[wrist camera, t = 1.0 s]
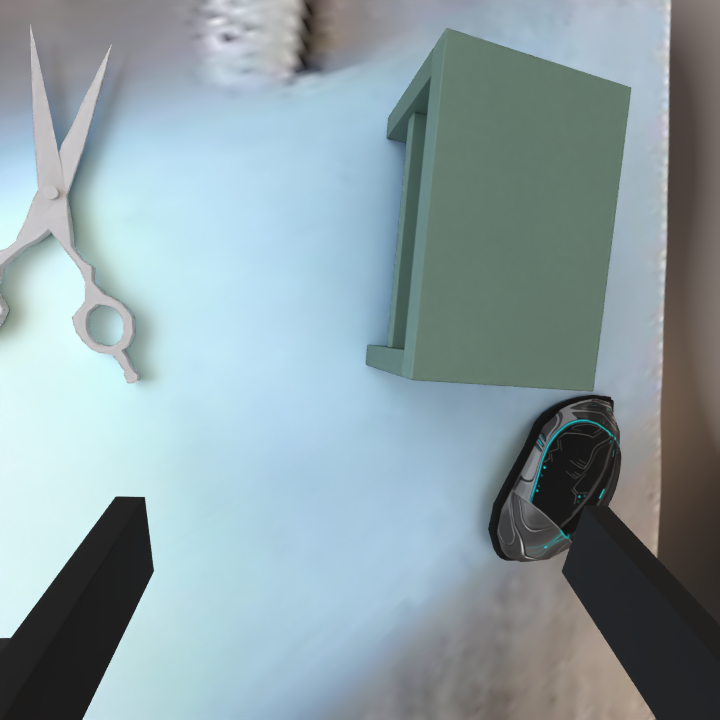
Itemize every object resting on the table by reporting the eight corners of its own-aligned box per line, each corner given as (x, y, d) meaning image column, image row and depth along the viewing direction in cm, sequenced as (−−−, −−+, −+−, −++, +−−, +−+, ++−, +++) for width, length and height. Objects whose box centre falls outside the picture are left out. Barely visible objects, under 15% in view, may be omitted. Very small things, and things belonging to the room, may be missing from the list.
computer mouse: (629, 428, 37) (696, 446, 31) (512, 570, 35) (561, 616, 29) (578, 363, 35) (639, 370, 29) (450, 510, 33) (490, 547, 27)
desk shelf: (504, 374, 33) (593, 391, 24) (365, 364, 30) (411, 379, 21) (529, 152, 32) (632, 87, 23) (388, 117, 29) (446, 27, 20)
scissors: (-73, 365, 22) (-47, -7, 21) (-63, 364, 23) (-36, 5, 22) (136, 383, 25) (170, 57, 24) (140, 382, 26) (172, 65, 25)
